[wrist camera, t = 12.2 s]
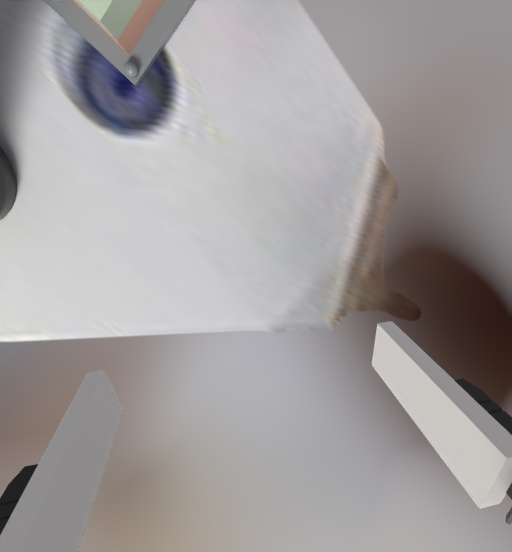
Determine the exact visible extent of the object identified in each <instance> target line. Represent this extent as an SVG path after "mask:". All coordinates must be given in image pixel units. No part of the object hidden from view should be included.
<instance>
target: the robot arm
mask: <svg viewBox="0 0 512 552" xmlns="http://www.w3.org/2000/svg"><path fill="white" fill-rule="evenodd" d="M15 195H16V182H15V176H14V173H13V170H12V167H11V164H10V162H9V160H8V158H7V156H6V155H5V153H4V151H3V150H2V148H1V147H0V220H1V219H3V218H4V217H5V216H6V215H7V214H8V212H9V211H10V209H11V208H12V206H13V203H14V200H15ZM372 366H373V367H374V368H375V370H376V371H377V373H378V374H379V375H380V377H381V378H382V379H383V380H384V382H385V383H386V384H387V386H388V387H389V389H390V390H391V391H392V392H393V394H394V395H395V397H396V398H397V399H398V401H399V402H400V403H401V404H402V406H403V407H404V409H405V410H406V411H407V412H408V414H409V415H410V417H411V418H412V419H413V421H414V422H415V423H416V425H417V426H418V427H419V428H420V430H421V431H422V433H423V434H424V435H425V436H426V438H427V439H428V440H429V442H430V443H431V444H432V446H433V447H434V449H435V450H436V451H437V453H438V454H439V455H440V457H441V458H442V459H443V461H444V462H445V463H446V465H447V466H448V467H449V469H450V470H451V471H452V472H453V474H454V475H455V477H456V478H457V479H458V480H459V482H460V483H461V484H462V486H463V487H464V489H465V490H466V491H467V493H468V494H469V495H470V497H471V498H472V499H473V500H474V502H475V503H476V504H477V506H478V507H479V508H484V507H488V506H492V505H496V504H499V503H501V501H502V500H503V498H504V496H505V494H506V493H507V494H508V496H509V497H510V498H511V499H512V417H511V416H509V415H508V414H507V413H506V412H505V411H503V410H502V408H501V407H499V406H498V405H497V404H496V403H495V402H492V400H491V399H490V398H489V397H488V396H487V395H486V394H485V393H484V392H483V391H481V390H480V389H479V388H478V387H476V386H475V385H473V384H471V383H469V382H467V381H466V380H464V379H459V380H453V379H452V378H451V377H450V376H449V375H448V374H447V373H446V372H445V371H444V370H443V369H441V367H439V366H438V365H437V364H436V363H435V362H434V361H433V360H432V359H431V358H430V357H429V356H428V355H426V353H424V351H423V350H422V349H421V348H419V347H418V346H417V345H416V344H415V343H414V342H413V341H412V340H411V339H410V338H409V337H408V336H407V335H406V334H405V333H404V332H403V331H402V330H401V329H399V328H398V327H397V326H396V325H395V324H394V323H393V322H392V321H390V322H384V323H378V324H377V331H376V338H375V345H374V352H373V359H372ZM122 413H123V409H122V407H121V405H120V402H119V400H118V398H117V396H116V393H115V391H114V388H113V386H112V384H111V382H110V379H109V377H108V375H107V372H106V370H100V371H95V372H89V373H87V374H86V376H85V378H84V380H83V382H82V384H81V386H80V387H79V389H78V391H77V393H76V395H75V397H74V399H73V401H72V403H71V405H70V406H69V408H68V410H67V412H66V414H65V416H64V417H63V419H62V421H61V423H60V425H59V427H58V429H57V431H56V432H55V434H54V436H53V438H52V440H51V442H50V444H49V445H48V447H47V449H46V451H45V453H44V455H43V457H42V458H41V460H40V462H39V464H37V465H31V466H26V467H24V468H23V469H22V470H21V471H20V473H19V474H18V475H17V476H16V477H15V478H14V479H13V480H12V481H11V482H10V484H9V485H8V486H7V488H6V490H5V491H4V493H3V495H2V496H1V498H0V552H78V549H79V547H80V543H81V540H82V537H83V534H84V531H85V528H86V525H87V522H88V518H89V516H90V512H91V509H92V506H93V503H94V500H95V497H96V494H97V491H98V488H99V485H100V481H101V478H102V475H103V472H104V469H105V466H106V463H107V459H108V457H109V454H110V450H111V447H112V444H113V441H114V438H115V435H116V432H117V428H118V426H119V422H120V419H121V416H122ZM506 523H508V524H511V523H512V508H511V509H510V511H509V512H508V514H507V515H506Z"/></svg>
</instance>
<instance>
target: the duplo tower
mask: <svg viewBox="0 0 512 552" xmlns="http://www.w3.org/2000/svg"><path fill="white" fill-rule="evenodd" d="M44 1H45V2H46V3H48V4H49V5H50V6H51V7H52V8H53V9H54V10H55V11H56V12H57V13H58V14H59V15H60V16H61V17H62V18H64V19H65V20H66V21H67V22H68V23H69V24H70V25H71V26H72V27H73V28H74V29H75V30H76V31H77V32H79V33H80V34H81V35H82V36H83V37H84V38H85V39H86V40H87V41H88V42H89V43H90V44H91V45H92V46H93V47H95V48H96V49H97V50H98V51H99V52H100V53H101V54H102V55H103V56H104V57H105V58H106V59H107V60H108V61H110V62H111V63H112V64H113V65H114V66H115V67H116V68H117V69H118V70H119V71H120V72H121V73H122V74H123V75H124V76H126V77H127V78H128V79H129V80H130V81H131V82H132V83H133V84H134V85H135V86H136V87H138V85H139V84H140V82H141V81H142V79H143V78H144V77H145V75H146V74H147V72H148V71H149V69H150V68H151V66H152V65H153V63H154V62H155V60H156V59H157V57H158V56H159V54H160V53H161V51H162V50H163V48H164V47H165V45H166V44H167V42H168V41H169V39H170V38H171V36H172V35H173V33H174V32H175V30H176V29H177V27H178V26H179V24H180V23H181V21H182V20H183V18H184V17H185V15H186V14H187V12H188V11H189V9H190V8H191V6H192V5H193V3H194V2H195V1H196V0H44Z"/></svg>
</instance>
